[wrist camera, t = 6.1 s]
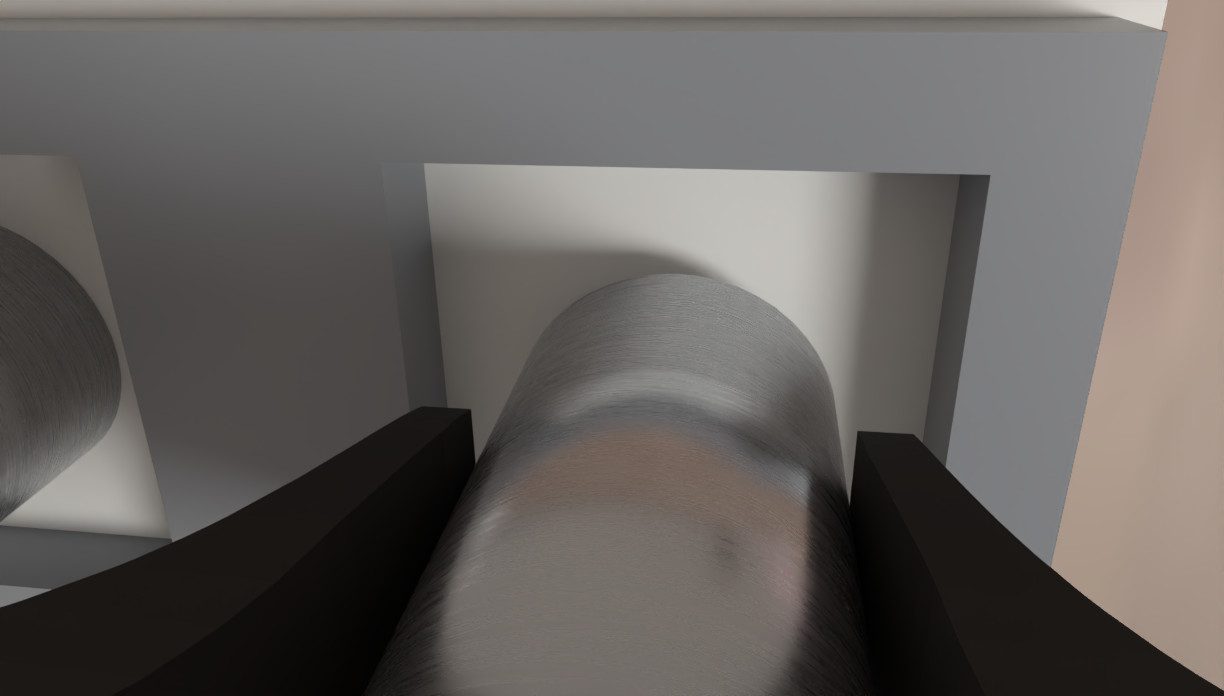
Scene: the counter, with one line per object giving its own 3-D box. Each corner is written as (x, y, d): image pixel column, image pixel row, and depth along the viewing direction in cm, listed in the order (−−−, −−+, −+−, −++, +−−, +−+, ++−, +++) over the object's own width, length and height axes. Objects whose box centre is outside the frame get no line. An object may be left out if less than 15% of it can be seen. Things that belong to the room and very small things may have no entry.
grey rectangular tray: (1160, -127, 11) (1262, -137, 9) (991, 706, 17) (1028, 830, 14) (-419, -96, 14) (-643, -97, 12) (-124, 602, 20) (-240, 692, 17)
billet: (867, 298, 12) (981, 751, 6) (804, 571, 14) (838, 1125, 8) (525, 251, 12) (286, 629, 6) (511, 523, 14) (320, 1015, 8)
